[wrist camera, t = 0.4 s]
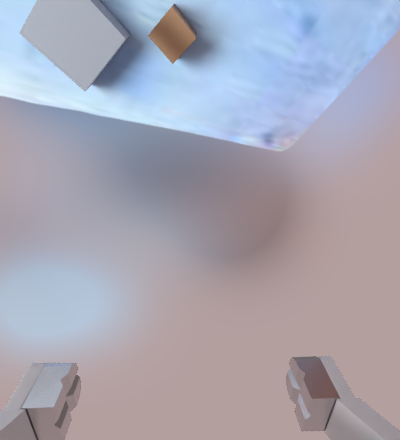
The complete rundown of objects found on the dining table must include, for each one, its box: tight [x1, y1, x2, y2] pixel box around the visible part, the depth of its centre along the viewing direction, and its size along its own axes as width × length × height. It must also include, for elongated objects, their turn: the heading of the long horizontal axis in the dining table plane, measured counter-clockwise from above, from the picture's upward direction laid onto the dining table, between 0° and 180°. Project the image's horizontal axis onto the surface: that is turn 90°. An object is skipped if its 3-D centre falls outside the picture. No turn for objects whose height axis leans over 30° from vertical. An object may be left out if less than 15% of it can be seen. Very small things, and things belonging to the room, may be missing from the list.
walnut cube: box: [148, 4, 196, 64], centre depth 42 cm, size 5×5×5 cm
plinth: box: [20, 0, 130, 91], centre depth 42 cm, size 11×11×4 cm
